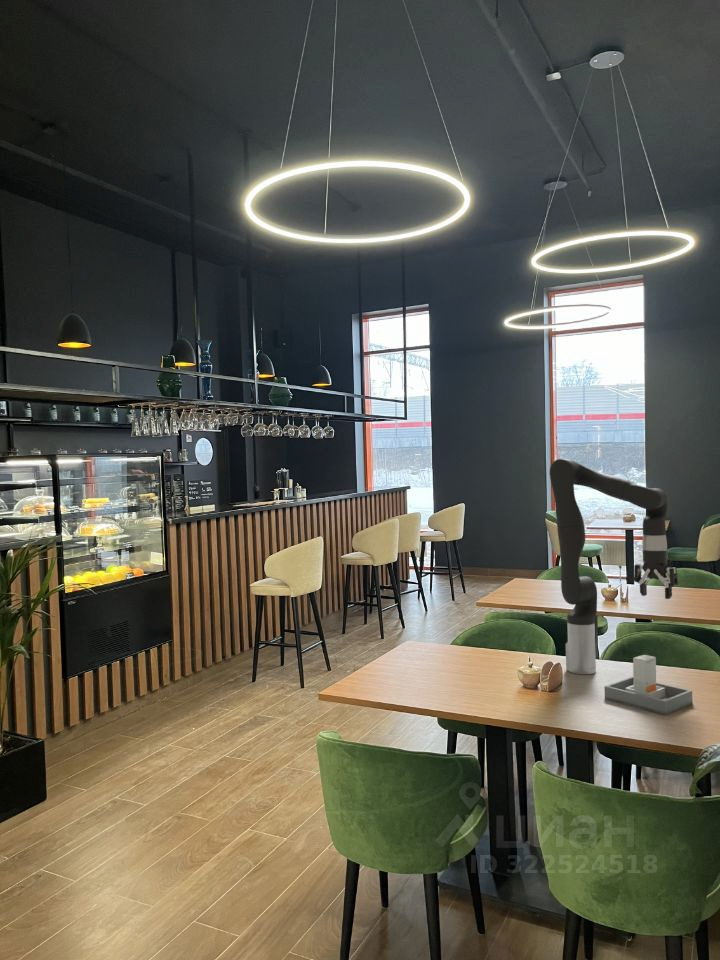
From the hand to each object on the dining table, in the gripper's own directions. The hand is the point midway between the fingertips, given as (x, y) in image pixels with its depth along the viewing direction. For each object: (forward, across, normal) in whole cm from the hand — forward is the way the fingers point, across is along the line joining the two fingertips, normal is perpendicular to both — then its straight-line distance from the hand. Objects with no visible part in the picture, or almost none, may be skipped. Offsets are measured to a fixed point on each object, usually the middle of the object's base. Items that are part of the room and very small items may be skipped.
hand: (655, 597), depth 238 cm
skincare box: (+28, +7, -19) cm, 34 cm away
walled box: (+28, +9, -21) cm, 36 cm away
